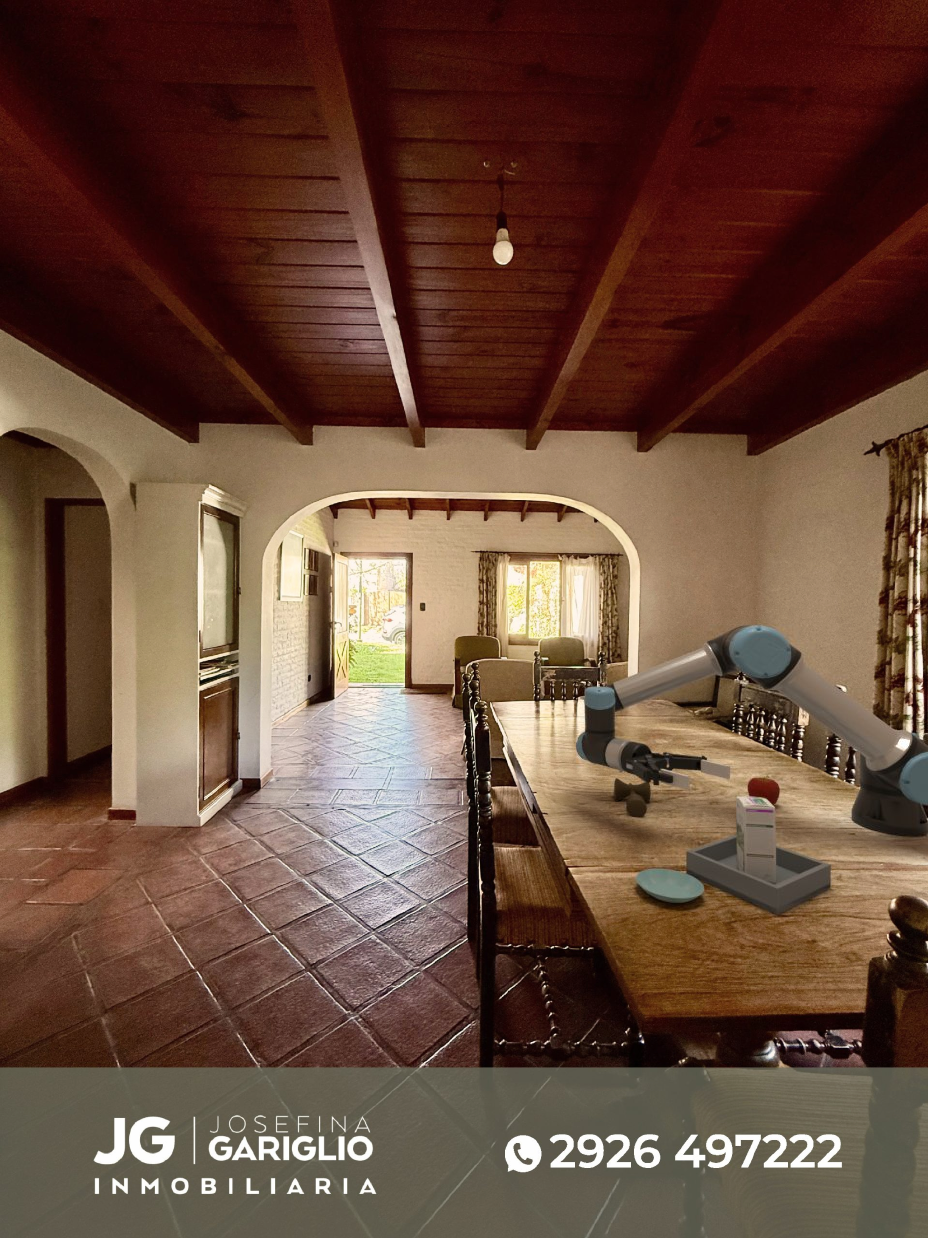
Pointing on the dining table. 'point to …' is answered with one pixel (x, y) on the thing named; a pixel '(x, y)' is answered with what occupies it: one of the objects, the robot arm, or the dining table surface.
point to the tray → (792, 886)
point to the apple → (764, 789)
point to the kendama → (633, 796)
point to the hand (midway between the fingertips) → (709, 777)
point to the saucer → (669, 885)
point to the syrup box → (756, 837)
